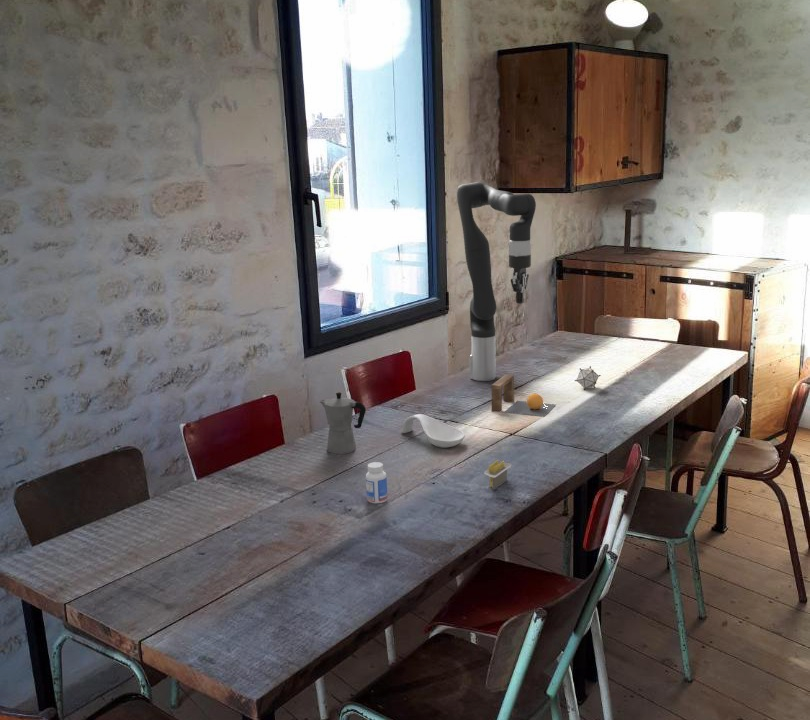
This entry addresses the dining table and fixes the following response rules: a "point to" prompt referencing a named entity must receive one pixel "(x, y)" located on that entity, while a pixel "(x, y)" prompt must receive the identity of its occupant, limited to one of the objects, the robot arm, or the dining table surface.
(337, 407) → the coffeepot
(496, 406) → the bridge
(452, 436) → the spoon rest
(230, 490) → the dining table surface
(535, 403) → the ball
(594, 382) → the game die
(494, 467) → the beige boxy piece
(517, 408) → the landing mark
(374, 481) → the pill bottle
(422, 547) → the dining table surface
